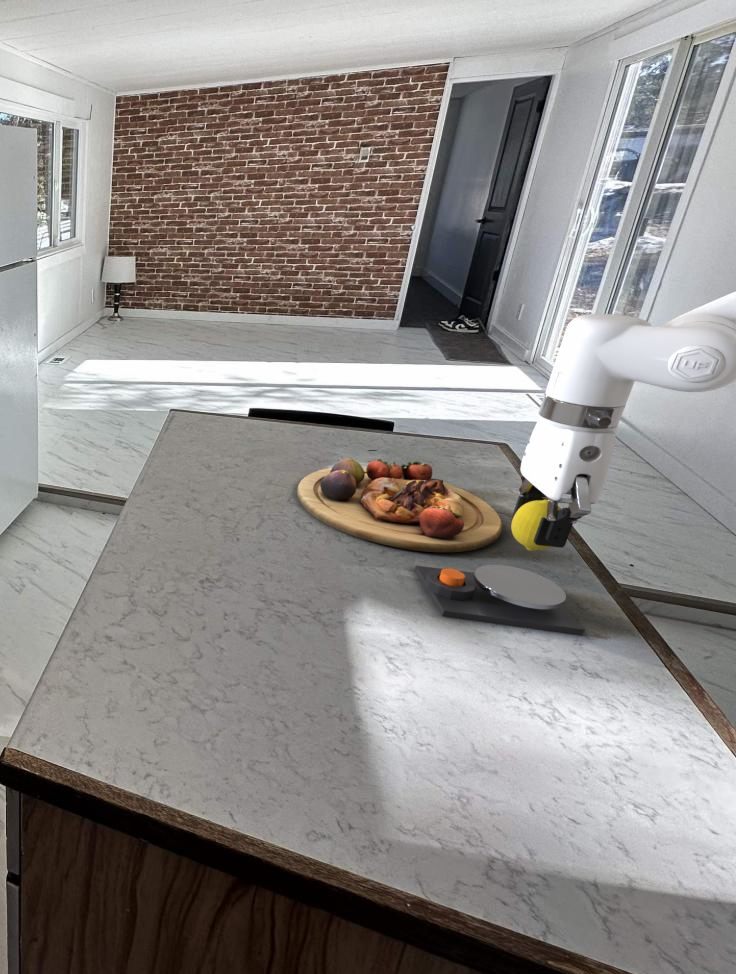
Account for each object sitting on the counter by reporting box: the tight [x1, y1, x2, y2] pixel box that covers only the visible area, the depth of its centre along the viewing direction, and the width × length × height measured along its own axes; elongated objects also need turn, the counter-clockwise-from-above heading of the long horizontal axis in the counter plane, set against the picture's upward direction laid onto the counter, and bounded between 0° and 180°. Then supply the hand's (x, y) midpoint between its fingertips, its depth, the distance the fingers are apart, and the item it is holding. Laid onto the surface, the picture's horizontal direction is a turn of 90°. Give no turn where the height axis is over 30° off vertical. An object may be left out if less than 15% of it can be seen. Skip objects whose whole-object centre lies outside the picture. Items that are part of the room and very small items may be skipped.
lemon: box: [510, 498, 562, 552], centre depth 89 cm, size 6×6×8 cm
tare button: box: [439, 567, 465, 587], centre depth 95 cm, size 3×3×2 cm
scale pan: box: [474, 564, 567, 610], centre depth 92 cm, size 10×10×1 cm
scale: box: [413, 565, 585, 637], centre depth 94 cm, size 16×12×4 cm
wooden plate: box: [296, 457, 504, 553], centre depth 120 cm, size 32×32×8 cm
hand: (536, 532), depth 89 cm, fingers closed on lemon, 5 cm apart
